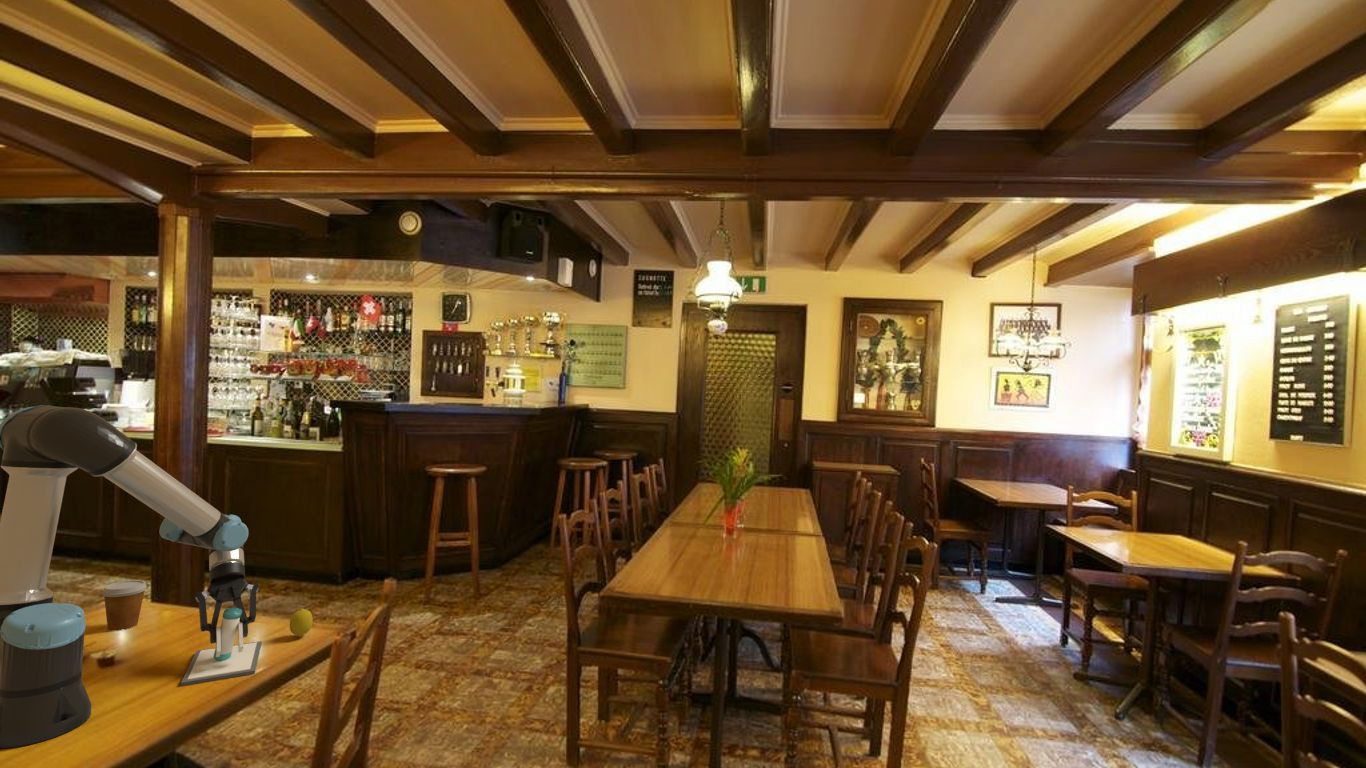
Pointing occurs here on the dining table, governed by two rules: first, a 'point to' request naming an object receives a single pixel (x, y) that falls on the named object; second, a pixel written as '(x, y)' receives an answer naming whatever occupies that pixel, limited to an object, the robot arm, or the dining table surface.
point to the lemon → (301, 622)
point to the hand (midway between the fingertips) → (229, 651)
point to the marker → (228, 632)
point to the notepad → (222, 664)
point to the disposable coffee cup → (123, 603)
